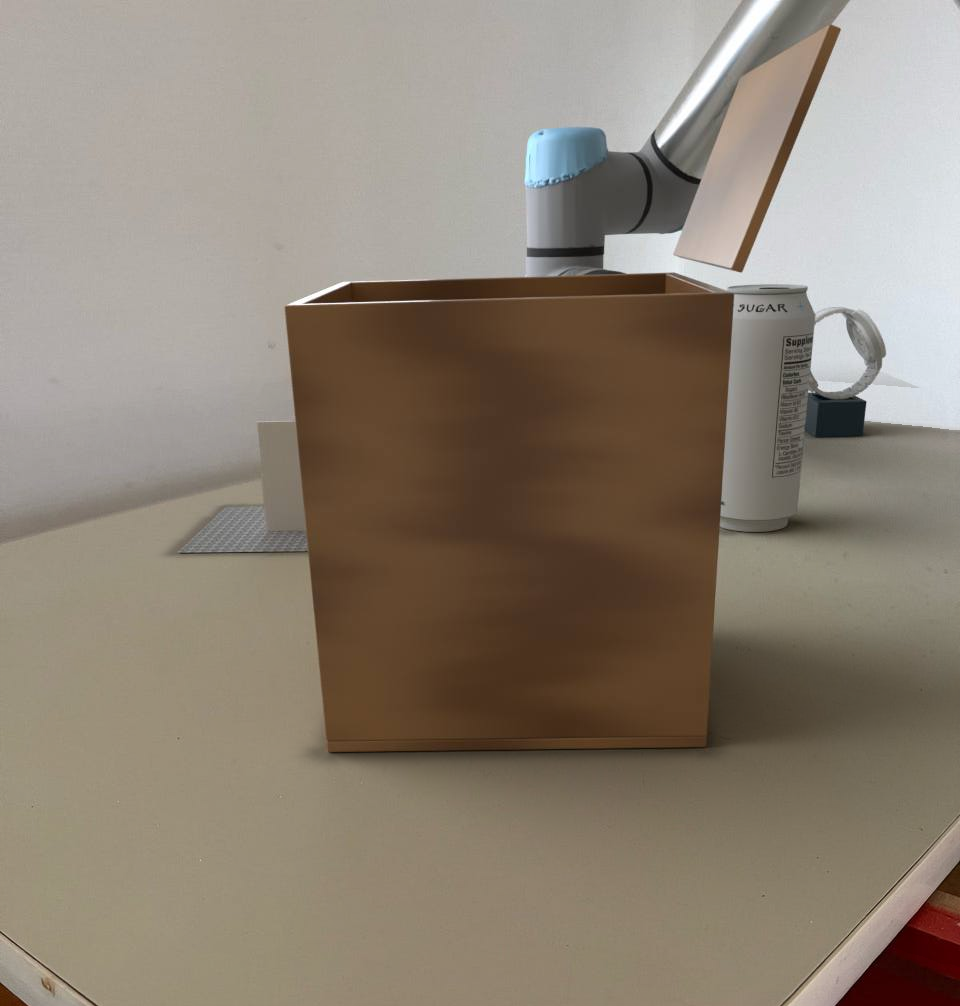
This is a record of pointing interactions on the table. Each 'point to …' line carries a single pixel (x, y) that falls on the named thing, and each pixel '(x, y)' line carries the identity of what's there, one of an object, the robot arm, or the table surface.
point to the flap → (753, 153)
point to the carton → (513, 507)
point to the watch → (843, 408)
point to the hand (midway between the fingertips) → (697, 338)
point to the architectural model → (282, 508)
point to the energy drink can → (766, 405)
